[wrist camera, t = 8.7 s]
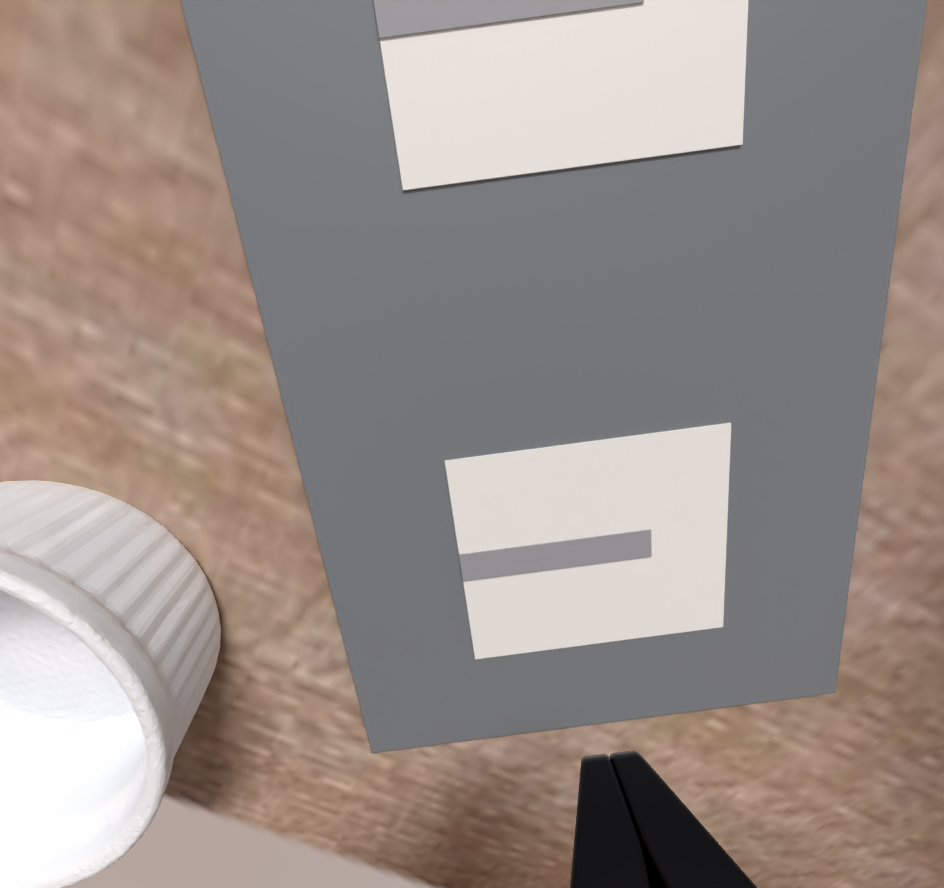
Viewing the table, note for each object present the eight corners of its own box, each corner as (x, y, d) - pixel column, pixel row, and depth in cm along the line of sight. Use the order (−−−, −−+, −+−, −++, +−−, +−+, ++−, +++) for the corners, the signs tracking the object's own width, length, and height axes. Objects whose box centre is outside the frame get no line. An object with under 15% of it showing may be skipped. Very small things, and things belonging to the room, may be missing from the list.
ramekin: (-178, 584, 13) (-453, 724, 9) (50, 382, 12) (-157, 442, 8) (96, 779, 16) (-26, 955, 12) (312, 630, 15) (257, 773, 10)
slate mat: (990, -551, 8) (1009, -582, 8) (830, 687, 16) (836, 695, 15) (78, -422, 8) (64, -448, 8) (373, 746, 16) (371, 756, 15)
